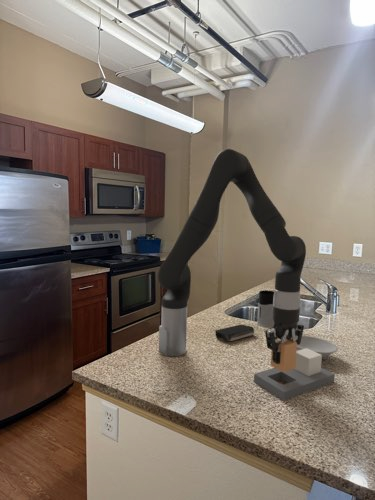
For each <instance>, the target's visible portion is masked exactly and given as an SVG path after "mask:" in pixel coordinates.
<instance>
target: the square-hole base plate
mask: <svg viewBox="0 0 375 500" xmlns="http://www.w3.org/2000/svg"><path fill="white" fill-rule="evenodd" d="M322 359H323V357H322V355H321V354H319V353H316V352H314V351H312V350H310V349H307V348H306V349H302V350H299V351H296V367H295V369H292V370H289V371H286V372H282V371H280V370H278V369H276V368H275V367H272V368H268V369H266V370H263V371H259V372H256V373H253V374H254V375H253V382H254V383H255V384H257V385H258V386H260V387H262V388H263V389H265V390H266V391H268V392H269V393H271V394H272V395H274V396H275V397H277V398H278V399H280V400H282V401H287V400H290V399H292V398H295V397H297V396H300V395H303V394H306V393H308V392H311V391H313V390H316V389H319V388H321V387H324V386H327V385H329V384H332V383H334V382H335V375H336V374H335V373H333V372H331V371H329V370H327V369H325V368H323V367H322ZM280 380H281V381H283V382H285V383H284V384H281V383H279V382H278V381H280Z"/></svg>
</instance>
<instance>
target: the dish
mask: <svg viewBox="0 0 375 500" xmlns="http://www.w3.org/2000/svg"><path fill="white" fill-rule="evenodd" d="M297 338H298V336H296V340H297ZM306 348H307V349H310V350H312V351H314V352H316V353H319V354H321V355H322V358H326V357H328V356H330V355H332V354H333V353H337V352H338V350H339V347H338V346H337V344H335V343H333V342H331V341H329V340H328V339H324V338H320V337H316V336H312V335H304V334H302V338H301V343H300V345H298V344H297V351H299V350H302V349H306Z"/></svg>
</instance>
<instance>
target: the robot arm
mask: <svg viewBox="0 0 375 500" xmlns="http://www.w3.org/2000/svg"><path fill="white" fill-rule="evenodd" d="M209 170H210V171H209V173H208V175H207V178H206V180H205V183H204V184H203V187H202V189H201V191H200V192H199V193H200V194H199V195H198V198H197V200H196V202H195V204H194V206H193V208H192V209H191V210H190V213H189V215H188V217H187V219H186V220H185V223H184V224H183V227H182V229H181V231H180V233H179V235H178V237H177V239H176V241H175V243H174V245H173V247H172V249H171V250H170V252H169V253H168V255H167V256H166V258H165V260H164V261H163V263H162V264H161V265H160V267H159V270H158V273H157V280H158V283H159V285H160V286H161V287H162V288H163V289H166V293H165V294H164V295H163V296H162V298H161V319H160V321H161V323H160V324H161V325H159V327H158V351H159V352H160V353H161V354H162V355H164V356H165V357H179V356H183V355H185V354H186V352H187V333H188V331H187V329H188V328H187V325H188V321H187V320H188V302H189V299H190V293H191V281H192V280H191V279H192V276H191V275H192V274H191V269H190V267H189V265H188V263H189V262H190V260H191V258H192V257H193V256H194V254H195V253H196V252H198V251H199V250H200V249H201V247H202V246H203V245H204V244H205V243H206V242H207V240H208V239H209V238H210V236H211V233H212V232H213V231H214V228H215V227H216V224H217V223H218V219H219V214H220V213H219V212H220V205H221V200H222V197H223V195H224V193H225V191H226V189H227V188H228V186H229V184H230V183H232V184H234V185H235V186H236V187H237V188H238V189H239V191H241V193H242V195H243V196H244V197H245V200H246V203H247V205H248V208H249V211H250V213H251V215H252V217H253V219H254V220H255V222H256V224H257V225H258V227H260V230H261V231H262V232H263V233H264V237H265V239H266V242H267V244H268V247H269V250H270V252H271V253H272V255H273V256H274V257H275V258H276V259H277V260H278V261H280V262H281V264H280V268H278V269H277V270H276V272H275V276H274V277H275V279H274V291H273V292H274V297H273V316H272V318H273V320H274V326H273V327H272V328H271V329H265V330H264V335H265V339H266V346H267V347H266V348H267V349H269V350H271V351H272V350H273V356H272V360H273V362H274V363H276V364H280V354H281V352H280V351H281V345H282V344H284V343H285V340H286V339H288V340H291V341H293V342H294V341H295V342H297V344H298V345H300V343H301V338H302V335H304V328H305V326H304V325H303V324H300V323H299V322H300V315H301V313H300V312H301V311H300V310H301V281H302V280H301V278H302V277H301V275H302V271H303V269H304V265H305V260H306V256H307V247H306V243H305V241H304V240H303V239H302V237H300V236H295V235H292V236H291V235H289V233H288V231H287V229H286V226H287V225H286V220H285V218H284V217H283V215H282V214H281V212H280V211H279V210H278V208H277V207H276V206H275V204H274V203H273V201H272V200H271V199H270V197H269V196H268V194H267V193H266V191H265V190H264V188H263V186H262V185H261V182H260V181H259V179H258V177H257V175H256V174H255V171H254V169H253V166H252V165H251V163H250V161H249V159H248V157H247V156H246V155H244V154H243V153H241V152H238V151H236V150H234V149H232V148H225V149H223V150H222V151H220V152H219V153H218V154H217V155H216V157H215V159H214V160H213V162H212V165H211V167H210V169H209ZM296 336H298V338H297V340H296ZM277 338H279V339H281V341H280V340H278V339H277ZM276 342H277V343H278V347H276Z"/></svg>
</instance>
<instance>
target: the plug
mask: <svg viewBox="0 0 375 500" xmlns="http://www.w3.org/2000/svg"><path fill="white" fill-rule="evenodd" d="M277 339H278V340H280V341H281V339H279V338H277ZM276 347H278V343H277V342H276ZM296 351H297V342H295V341H294V342H293V341H291V340H288V339H286V340H285V343H284V344H282V345H281V351H280V352H281V354H280V364H276V363H274V362H273V360H272V356H273V350H271V353H270V355H271V357H270V366H271V367H272V368H276V369H278V370H280V371H282V372H286V371H289V370H292V369H295V367H296Z"/></svg>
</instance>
